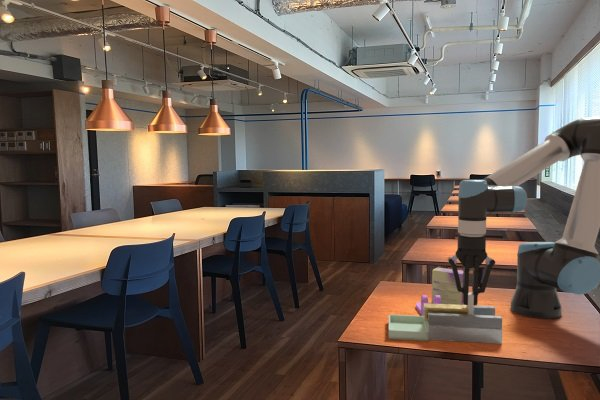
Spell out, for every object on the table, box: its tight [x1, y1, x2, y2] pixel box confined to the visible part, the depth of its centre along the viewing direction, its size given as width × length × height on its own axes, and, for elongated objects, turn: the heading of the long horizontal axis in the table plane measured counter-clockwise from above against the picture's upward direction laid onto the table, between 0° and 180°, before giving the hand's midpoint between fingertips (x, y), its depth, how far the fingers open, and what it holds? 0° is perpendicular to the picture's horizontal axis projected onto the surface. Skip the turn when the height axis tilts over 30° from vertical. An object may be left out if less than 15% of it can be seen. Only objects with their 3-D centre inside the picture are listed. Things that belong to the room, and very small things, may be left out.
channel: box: [426, 302, 503, 345], centre depth 140 cm, size 20×12×7 cm, turn 80°
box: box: [431, 267, 464, 305], centre depth 169 cm, size 10×6×12 cm, turn 58°
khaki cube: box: [424, 303, 439, 321], centre depth 141 cm, size 4×4×4 cm
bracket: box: [415, 294, 441, 316], centre depth 161 cm, size 13×6×7 cm, turn 0°
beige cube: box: [452, 305, 468, 314], centre depth 140 cm, size 4×4×4 cm
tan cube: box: [438, 304, 454, 314], centre depth 141 cm, size 4×4×4 cm
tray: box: [388, 313, 430, 342], centre depth 143 cm, size 11×14×2 cm
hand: (469, 315), depth 139 cm, fingers closed
